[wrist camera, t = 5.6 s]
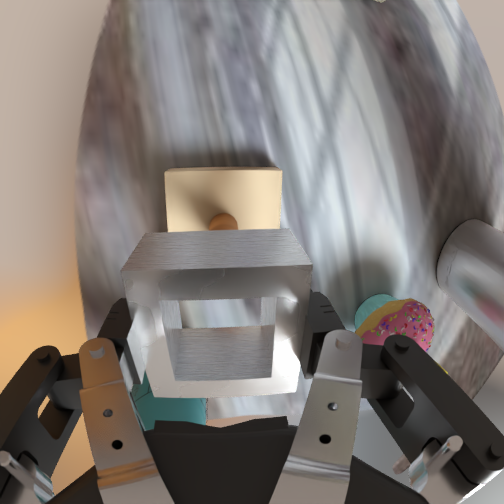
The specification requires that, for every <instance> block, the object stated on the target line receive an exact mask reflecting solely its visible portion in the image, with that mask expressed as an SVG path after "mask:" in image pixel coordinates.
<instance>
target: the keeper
mask: <svg viewBox="0 0 504 504" xmlns="http://www.w3.org/2000/svg"><path fill="white" fill-rule="evenodd" d="M164 176H165V195H166V211H167V225H168V232H184V231H212V230H245V229H280V211H281V189H282V170H281V169H279V168H278V167H194V168H170V169H168V170H167V171H166V172H164Z"/></svg>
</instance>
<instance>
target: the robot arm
mask: <svg viewBox="0 0 504 504" xmlns="http://www.w3.org/2000/svg"><path fill="white" fill-rule="evenodd" d="M437 280H438V284H439V286H440V288H441V289H442V291H443V292H444V293H445V294H446V295H448V296H449V297H450V298H451V299H452V300H453V301H454V302H455V303H456V304H457V305H458V306H459V307H460V308H461V309H462V310H463V311H464V312H465V313H466V314H467V315H468V316H469V317H470V318H471V319H472V320H473V321H474V322H475V323H476V324H477V325H478V326H479V327H480V328H481V329H482V330H483V331H484V332H485V333H486V334H487V335H488V336H489V337H490V338H491V339H492V340H493V341H494V342H495V343H496V344H497V345H498V346H499V347H500V349H501V350H502V351H503V352H504V233H503V232H501V231H500V230H498V229H496V228H494V227H492V226H490V225H488V224H486V223H484V222H482V221H480V220H478V219H472V220H468V221H466V222H464V223H462V224H461V225H460V226H458V227H457V228H456V229H455V230H454V232H453V233H452V234H451V235H450V237H449V238H448V240H447V241H446V243H445V245H444V247H443V249H442V251H441V254H440V257H439V261H438V266H437ZM299 362H300V365H301V368H302V371H303V374H304V377H305V379H311V378H313V381H312V384H311V388H310V391H309V394H308V398H307V401H306V404H305V408H304V411H303V414H302V418H301V420H300V423H299V426H294V425H288V421H287V416H282V417H273V418H263V419H253V420H249V421H246V422H242V423H238V424H234V425H231V426H227V427H222V428H218V427H212V426H207V425H202V424H197V423H193V422H188V421H165V420H155V424H154V429H151V430H146V429H145V427H144V424H143V422H142V419H141V417H140V414H139V412H138V409H137V406H136V404H135V401H134V398H133V395H132V393H131V388H132V384H139V385H142V381H143V377H144V372H145V368H146V366H145V362H144V359H143V356H142V352H141V348H140V345H139V341H138V337H137V334H136V330H135V326H134V322H133V321H132V320H131V316H130V312H129V308H128V303H127V299H126V298H121V299H119V300H118V301H117V302H116V303H115V304H113V306H112V308H111V310H110V312H109V314H108V316H107V318H106V320H105V322H104V324H103V326H102V328H101V330H100V332H99V334H98V336H97V338H94V339H91V340H88V341H87V342H85V343H84V344H83V345H82V346H81V347H80V349H79V353H77V354H72V355H65V356H61V354H60V352H59V350H58V349H57V348H56V347H54V346H42V347H40V348H38V349H36V350H35V351H33V352H32V354H31V355H30V356H29V357H28V359H27V360H26V361H25V362H24V363H23V365H22V366H21V367H20V369H19V370H18V371H17V372H16V374H15V375H14V377H13V378H12V379H11V380H10V382H9V383H8V384H7V386H6V387H5V388H4V390H3V391H2V393H1V394H0V504H460V503H461V502H463V501H464V500H465V499H467V498H468V497H469V496H471V495H472V494H474V492H476V491H477V490H479V489H480V488H481V487H483V486H484V485H485V484H486V483H488V482H489V481H490V480H491V479H492V478H494V477H495V476H496V475H497V474H498V473H499V472H501V471H502V470H503V469H504V436H503V434H502V433H501V432H500V431H499V430H498V429H497V428H496V427H495V425H494V424H493V423H492V422H491V421H490V420H489V418H488V417H486V415H485V414H484V413H483V412H482V411H481V410H480V409H479V407H478V406H477V405H476V404H475V403H474V402H473V401H472V400H471V399H470V398H469V396H468V395H467V394H466V393H465V392H464V391H463V390H462V389H461V388H460V387H459V386H458V385H457V384H456V383H455V382H454V380H453V379H452V378H451V377H450V376H449V375H448V374H447V373H446V372H445V371H444V370H443V369H442V368H441V367H440V366H439V365H438V364H437V363H436V362H435V361H434V360H433V359H432V358H431V357H430V356H429V355H428V354H427V353H426V352H425V351H424V350H423V349H422V348H421V347H420V346H419V345H418V344H417V343H416V342H415V341H414V340H413V339H412V338H410V337H408V336H405V335H400V334H394V335H390V336H388V337H387V338H386V339H385V341H384V344H383V345H374V344H365V343H363V342H362V340H361V338H360V337H359V336H358V335H357V334H355V333H354V332H351V331H348V330H346V329H345V327H344V326H343V324H342V322H341V320H340V319H339V317H338V315H337V313H336V312H335V310H334V308H333V307H332V306H331V303H330V302H329V300H328V298H327V297H325V296H324V295H323V294H321V293H320V292H312V290H311V288H310V296H309V304H308V313H307V315H305V323H304V331H303V338H302V346H301V353H300V359H299ZM403 386H404V387H405V388H406V390H407V391H408V392H409V393H410V395H411V396H412V397H413V400H414V402H413V401H412V399H411V398H410V397H409V396H408V394H407V393H406V392H405V391H404V390H403V388H402V387H403ZM46 396H48V397H49V399H50V400H49V402H48V404H47V405H46V407H45V409H44V410H43V412H42V413H41V415H40V417H39V419H38V409H39V407H40V405H41V404H42V402H43V401H44V399H45V397H46ZM361 398H366V399H367V400H368V402H369V403H370V405H371V406H372V408H373V409H374V410H375V412H376V413H377V415H378V416H379V417H380V419H381V421H382V422H383V424H384V425H385V427H386V428H387V429H388V431H389V432H390V434H391V435H392V437H393V438H394V439H395V441H396V443H397V444H398V446H399V447H400V449H401V450H402V452H403V453H404V454H405V456H406V457H407V459H408V460H409V462H410V463H411V466H410V468H409V478H410V485H411V487H412V488H413V489H411V488H409V487H407V486H405V485H403V484H402V483H400V482H398V481H396V480H394V479H392V478H391V477H389V476H387V475H385V474H384V473H381V472H380V471H378V470H376V469H375V468H373V467H372V466H370V465H368V464H366V463H365V462H363V461H362V460H360V459H358V458H357V457H355V456H353V455H352V453H353V447H354V441H355V435H356V429H357V422H358V415H359V408H360V400H361ZM82 412H83V415H84V421H85V425H86V430H87V435H88V439H89V443H90V447H91V451H92V455H93V459H94V462H95V465H94V466H93V467H92V468H90V469H89V470H88V471H87V472H85V473H84V474H83V475H82V476H80V477H79V478H78V479H76V480H75V481H74V482H73V483H71V484H70V485H69V486H67V487H66V488H65V489H63V490H62V491H61V492H60V493H58V494H57V495H56V496H55V495H54V493H53V485H52V481H51V479H50V478H51V476H52V474H53V471H54V469H55V467H56V465H57V463H58V461H59V458H60V456H61V454H62V452H63V450H64V448H65V446H66V444H67V442H68V440H69V438H70V436H71V433H72V432H73V429H74V428H75V426H76V424H77V422H78V420H79V417H80V416H81V414H82Z"/></svg>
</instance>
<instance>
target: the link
mask: <svg viewBox="0 0 504 504" xmlns="http://www.w3.org/2000/svg"><path fill="white" fill-rule="evenodd" d="M312 268H313V264H312V262H311V261H310V259H309V258H308V256H307V255H306V253H305V252H304V250H303V249H302V247H301V246H300V244H299V242H298V241H297V239H296V238H295V237H294V235H293V234H292V232H291V231H290V229H245V230H212V231H184V232H160V233H145V234H144V236H143V237H142V239H141V240H140V242H139V243H138V245H137V246H136V248H135V249H134V251H133V252H132V254H131V255H130V257H129V258H128V260H127V262H126V263H125V265H124V266H123V268H122V269H121V275H122V280H123V285H124V290H125V294H126V299H127V303H128V308H129V312H130V316H131V320H132V321H133V322H134V326H135V330H136V334H137V337H138V341H139V345H140V348H141V352H142V356H143V359H144V362H145V366H146V368H145V370H146V374H147V377H148V380H149V383H150V386H151V389H152V392H153V395H154V397H165V398H220V397H242V396H257V395H269V394H280V393H289V392H296V388H297V382H298V376H299V369H300V362H299V359H300V353H301V346H302V338H303V331H304V323H305V315H307V313H308V304H309V296H310V287H311V278H312ZM242 298H261V326H246V327H223V328H182V323H181V316H180V309H179V302H178V300H215V299H242Z"/></svg>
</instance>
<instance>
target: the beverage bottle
mask: <svg viewBox="0 0 504 504" xmlns="http://www.w3.org/2000/svg"><path fill="white" fill-rule="evenodd" d="M132 385H133V387H132V391H131V393H132V395H133V398H134V401H135V404H136V406H137V409H138V412H139V414H140V417H141V419H142V422H143V424H144V427H145V429H146V430H151V429H154V424H155V420H165V421H188V422H193V423H197V424H202V425H206V415H207V417H208V398H207V402H206V398H165V397H154V395H153V392H152V389H151V386H150V383H149V380H148V377H147V374H146V370H145V372H144V377H143V381H142V385H139V384H132ZM206 403H207V410H206ZM206 411H207V414H206Z"/></svg>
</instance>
